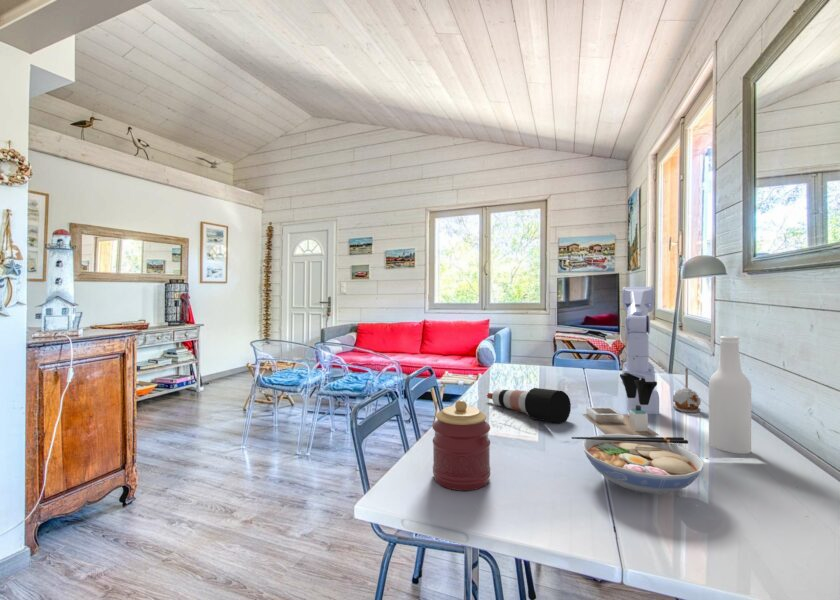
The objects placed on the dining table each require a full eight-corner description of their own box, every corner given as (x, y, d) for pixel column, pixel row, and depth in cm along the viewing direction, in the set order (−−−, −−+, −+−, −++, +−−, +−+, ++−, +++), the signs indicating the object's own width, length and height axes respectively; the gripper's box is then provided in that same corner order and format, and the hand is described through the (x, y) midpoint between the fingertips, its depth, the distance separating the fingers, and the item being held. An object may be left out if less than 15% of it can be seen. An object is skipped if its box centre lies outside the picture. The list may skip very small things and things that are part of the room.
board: (627, 417, 132) (627, 414, 132) (659, 438, 113) (659, 435, 113) (581, 416, 133) (581, 413, 133) (605, 437, 113) (605, 434, 113)
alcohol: (748, 448, 105) (748, 335, 105) (753, 460, 98) (753, 338, 97) (707, 441, 110) (707, 334, 110) (709, 452, 102) (709, 337, 102)
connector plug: (641, 427, 119) (641, 404, 119) (647, 431, 116) (647, 407, 116) (629, 427, 120) (629, 404, 120) (635, 431, 116) (635, 407, 116)
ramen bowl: (594, 510, 75) (594, 467, 75) (566, 461, 98) (566, 428, 98) (738, 519, 72) (738, 475, 72) (675, 466, 94) (675, 432, 94)
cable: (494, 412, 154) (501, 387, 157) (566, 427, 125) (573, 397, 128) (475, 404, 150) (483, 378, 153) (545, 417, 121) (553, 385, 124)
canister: (424, 470, 93) (423, 396, 93) (473, 462, 98) (472, 391, 97) (447, 496, 81) (446, 410, 81) (501, 485, 85) (501, 404, 85)
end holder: (612, 414, 132) (612, 407, 132) (623, 422, 124) (623, 414, 124) (586, 414, 133) (586, 407, 132) (595, 422, 124) (595, 414, 124)
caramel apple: (696, 415, 134) (696, 371, 134) (670, 410, 140) (670, 368, 140) (702, 410, 140) (702, 368, 140) (677, 406, 145) (677, 365, 145)
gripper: (613, 352, 125) (613, 394, 125) (635, 359, 110) (635, 407, 111) (635, 352, 125) (635, 395, 125) (661, 359, 110) (661, 407, 110)
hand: (637, 401), depth 118 cm, fingers open, 7 cm apart
